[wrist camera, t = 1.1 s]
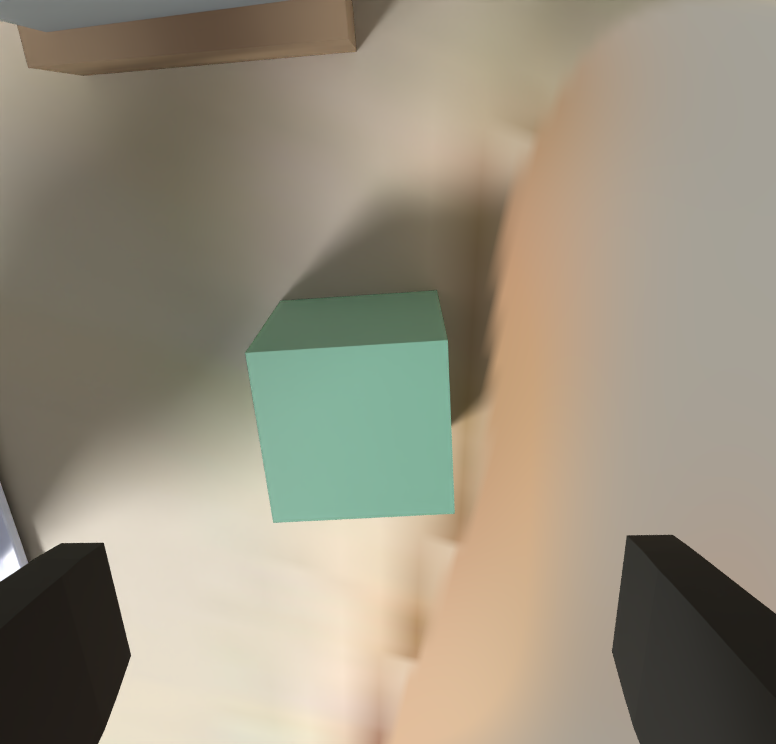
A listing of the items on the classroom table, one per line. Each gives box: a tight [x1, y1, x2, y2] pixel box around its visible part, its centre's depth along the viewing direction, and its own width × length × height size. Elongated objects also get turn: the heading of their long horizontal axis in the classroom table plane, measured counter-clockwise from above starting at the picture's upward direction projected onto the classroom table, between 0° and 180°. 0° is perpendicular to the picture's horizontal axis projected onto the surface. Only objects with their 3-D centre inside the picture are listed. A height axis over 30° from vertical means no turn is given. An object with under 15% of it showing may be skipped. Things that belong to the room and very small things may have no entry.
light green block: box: [245, 290, 455, 523], centre depth 17 cm, size 4×4×4 cm
